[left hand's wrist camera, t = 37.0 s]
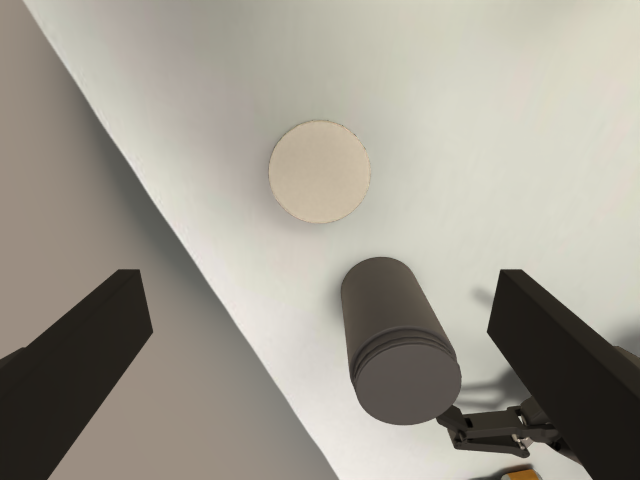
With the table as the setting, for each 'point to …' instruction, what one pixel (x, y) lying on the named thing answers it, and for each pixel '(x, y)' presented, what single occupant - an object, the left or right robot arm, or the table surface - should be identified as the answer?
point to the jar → (396, 345)
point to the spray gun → (522, 475)
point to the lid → (319, 172)
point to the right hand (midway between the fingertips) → (458, 359)
